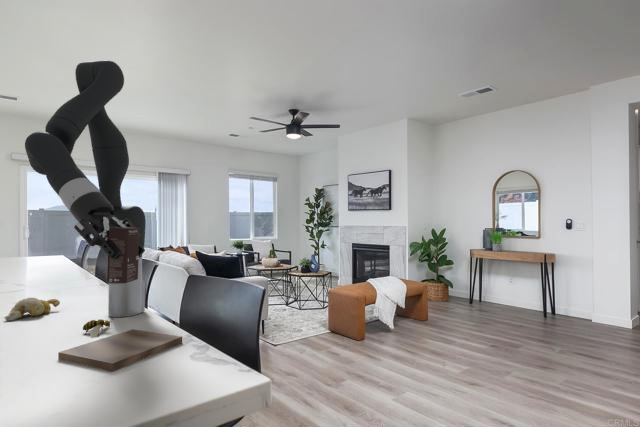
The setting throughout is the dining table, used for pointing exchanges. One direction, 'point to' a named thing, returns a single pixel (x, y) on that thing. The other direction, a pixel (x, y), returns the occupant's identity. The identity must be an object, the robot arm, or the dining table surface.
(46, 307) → the yellow plush toy
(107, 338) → the board
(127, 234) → the box
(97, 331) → the insect
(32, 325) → the dining table surface
